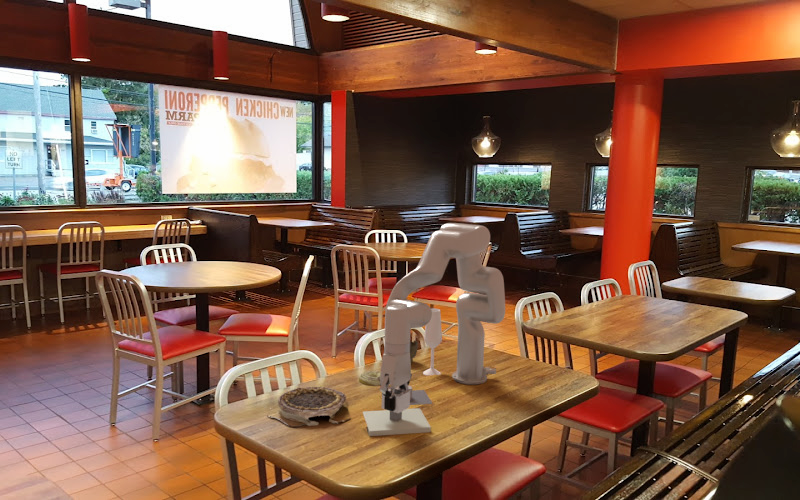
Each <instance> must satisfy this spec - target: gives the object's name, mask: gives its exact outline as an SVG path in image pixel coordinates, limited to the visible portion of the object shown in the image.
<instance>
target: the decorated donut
mask: <svg viewBox="0 0 800 500" xmlns="http://www.w3.org/2000/svg"><path fill="white" fill-rule="evenodd" d="M380 374H381V371H377V370H369V371H364V372H362V373H360V374H359V375H358V381H359V383H361V384H363V385H367V386H368V385H369V386H376V387H377V386H381V385H380Z"/></svg>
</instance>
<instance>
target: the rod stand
mask: <svg viewBox="0 0 800 500" xmlns="http://www.w3.org/2000/svg"><path fill="white" fill-rule="evenodd" d="M408 390H409V391H410V406H415V405H416V406H418V405H432V404H433V402H432V399H430V397H429V396H428V393H426V391H425V389H417V390H416V389H415V390H413V387H412V385H408Z"/></svg>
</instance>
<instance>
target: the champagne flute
mask: <svg viewBox="0 0 800 500" xmlns="http://www.w3.org/2000/svg"><path fill="white" fill-rule="evenodd" d="M431 310H432V317H431V320H430V322H429V323H428V324H427V325H425V326H424V334H423V335H424V336H423V341H424V343H425V344H426V345H427V346H428V347H429V348H430V368H428V369H426V370H424V371H423V372H422V374H423V375H425V376H436V375H437V376H440V375H441V372H440V371H439V370H437V369H436V368H434V367H435V366H434V365H435V348H437V347H438V346H440V345H441V343H442V341H443V331H442V318H441V317H442V316H441V309H439V308H431Z"/></svg>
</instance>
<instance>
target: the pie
mask: <svg viewBox="0 0 800 500" xmlns="http://www.w3.org/2000/svg"><path fill="white" fill-rule="evenodd" d="M346 400H347V396H346V395H345V393H344V392H342V391H339V390H336V389H335V388H334V389H333V388H330V387H326V386H325V387H322V386H312V387H310V386H307V387H306V388H305V387H303V388H302V387H297V388H294V389H291V390H289V391H286V392H284V393H282V394H281V395H280V396H279V398H278V400H277V406H278V408H279V410H277V414H276V415H279V416H282V417H283V418H285V420H286V419H287V420H289V421H293V422H300V423H302V424H300V425H295V426H294V425H293V426H292V427H293V428H295V427H301V426H304V425H305V426H307V427H311V426H312V427H313V426H318V425H319V424H320V422H318V421H316V420H310V419H309V418H314V417H317V416H318V417H320V416H322V417H323V416H329V420H328V422H329V423H332V424H340V423H344V422H346V421H347V420H351V417H349V418H348V419H345V420H344V419H342V420H340V421H338V420H337V421H336V420H334V418H335V416H336V413H337V412H339V411H340V410H341V408H342V407H343V406H344V403H345V402H346ZM269 409H272V407H269ZM270 416H271V415H269V416H267V417H268V418H274V419H277V420H278V421H280V422H282V423H284V424H285V425H286V426H289V424H288V423H287V422H286V421H285V422H284V421H282V419H281V418H282V417H281V418H279V416H278V417H277V416H271V417H270ZM280 419H281V420H280Z"/></svg>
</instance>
